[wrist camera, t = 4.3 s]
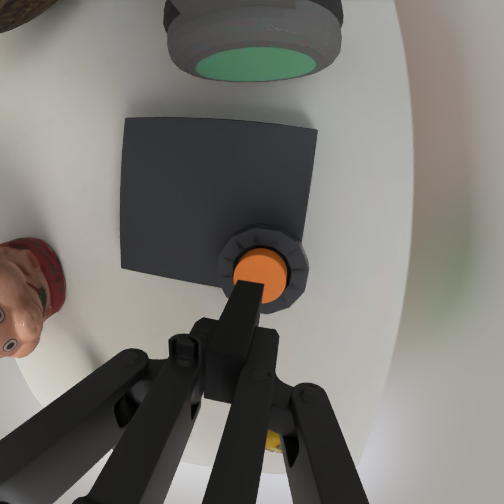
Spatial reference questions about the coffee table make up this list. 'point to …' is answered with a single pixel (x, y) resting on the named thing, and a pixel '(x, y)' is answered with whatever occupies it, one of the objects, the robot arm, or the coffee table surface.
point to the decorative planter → (27, 293)
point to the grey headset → (253, 37)
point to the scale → (214, 198)
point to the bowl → (20, 12)
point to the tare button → (263, 272)
